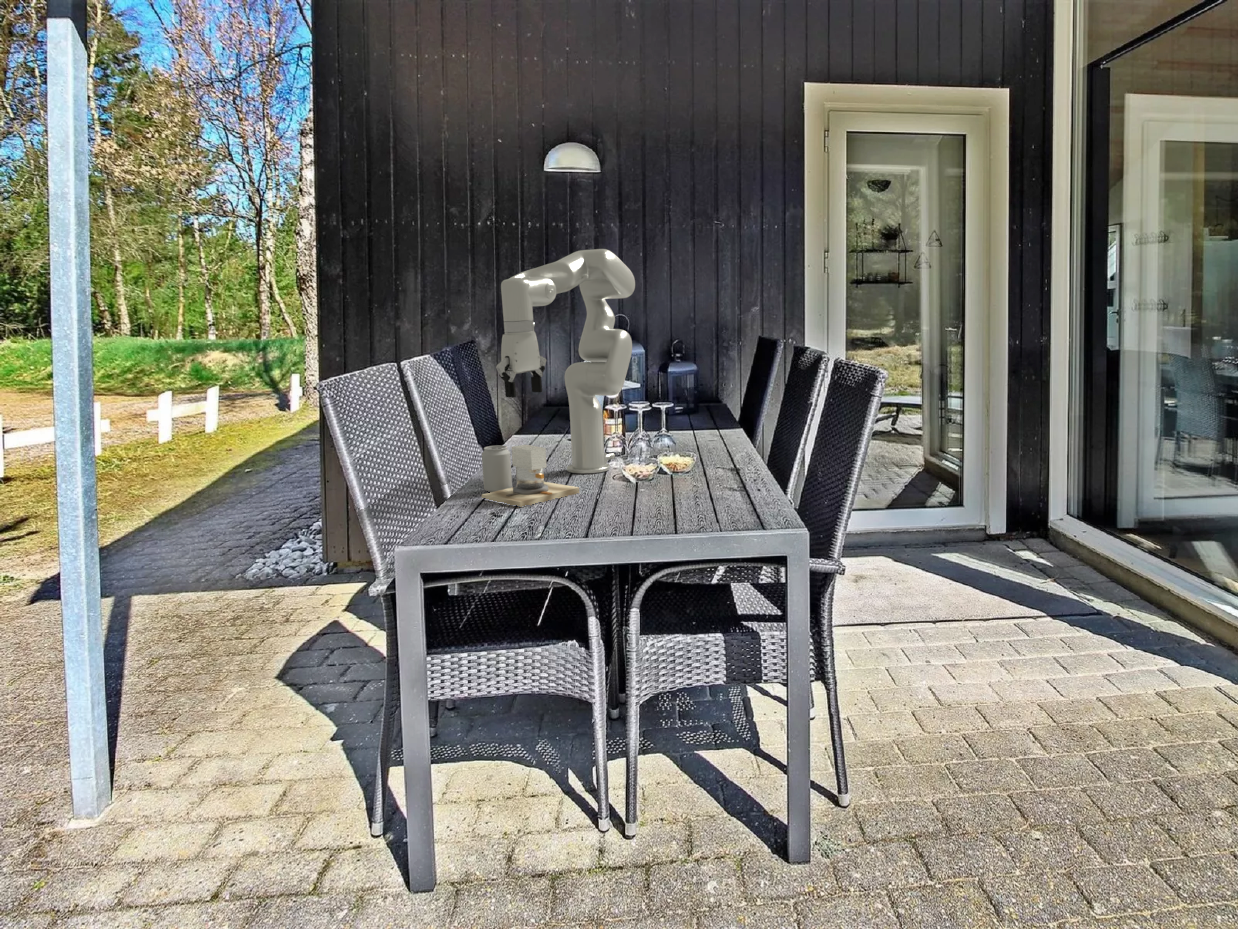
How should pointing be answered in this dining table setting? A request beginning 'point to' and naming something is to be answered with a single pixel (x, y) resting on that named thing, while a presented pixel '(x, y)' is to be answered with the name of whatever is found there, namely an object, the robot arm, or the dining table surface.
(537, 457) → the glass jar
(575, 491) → the base plate
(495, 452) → the can
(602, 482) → the dining table surface
